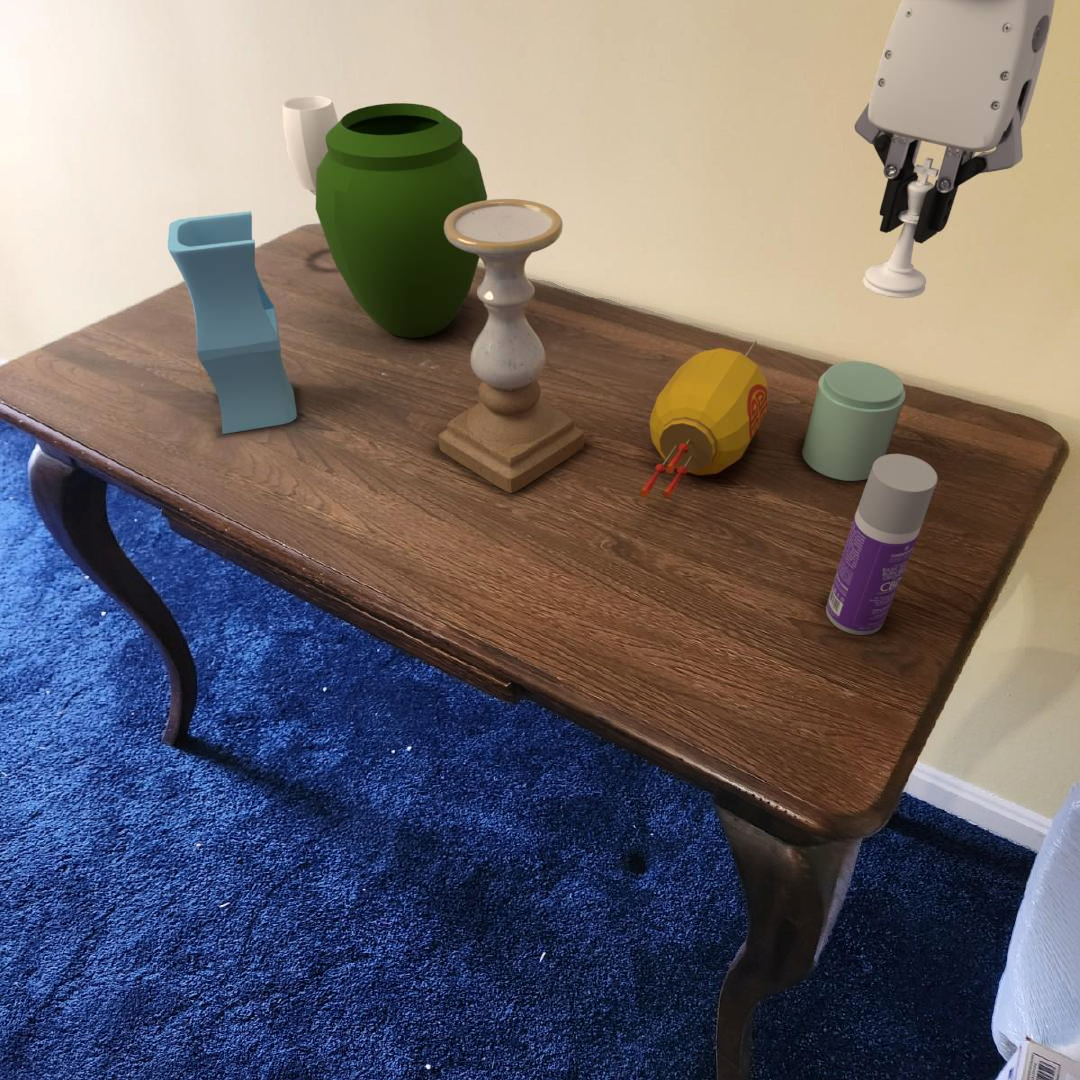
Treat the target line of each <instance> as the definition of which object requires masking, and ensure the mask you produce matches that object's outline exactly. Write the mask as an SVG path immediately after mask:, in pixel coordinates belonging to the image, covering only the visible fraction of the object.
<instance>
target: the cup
mask: <svg viewBox="0 0 1080 1080" xmlns="http://www.w3.org/2000/svg"><path fill="white" fill-rule="evenodd" d="M282 122H283V123H282V124H283V133H284V139H285V146H286V151H287V154H288V157H289V162H290V164H291V166H292V169H293V171H294V173H295V175H296V177H297V179H298V181H299V183H300V185H301V187H302V188H303V189H306V190H307V191H309V192H310V193H311V194H312V195H313V196H316V174H317V168H318V166H319V165H320V163H321V161H322V160H323V158H324V157H325V155H326V153H327V152H328V149H327V144H326V135H327V133H328V132H329V131H330V130H331V129H332V128H333V127H334V126H335V125H336V124H337V123H338V122H339V118H338V115H337V113H336V109H335V106H334V102H333V100H332V99H330V98H329V97H326V96H320V95H304V96H296V97H293V98H290V99H288V100H285V101H284V102H283V103H282Z"/></svg>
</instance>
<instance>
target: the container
mask: <svg viewBox="0 0 1080 1080" xmlns="http://www.w3.org/2000/svg"><path fill="white" fill-rule="evenodd" d="M866 480H867V481H866V483H865V486H864V488H863V491H862V494H861V497H860V500H859V503H858V506H857V509H856V511H855V514H854V518H853V520H852V523H851V527H850V529H849V534H848V536H847V539H846V542H845V546H844V549H843V552H842V555H841V557H840V558H841V559H840V561H839V565H838V568H837V571H836V574H835V577H834V580H833V583H832V587H831V589H830V593H829V596H828V599H827V602H826V606H825V612H826V616H827V618H828V620H829V622H831V623H832V624H833V626H835V627H836V628H837V629H839V630H840V631H843V632H845V633H848V634H851V635H854V636H855V635H857V636H868V635H872V634H875V633H876V632H878V631H879V630H880V629H881V628H882V627H883V625H884V622H885V621H886V618H887V615H888V613H889V610H890V608H891V605H892V603H893V600H894V598H895V595H896V593H897V590H898V588H899V585H900V582H901V580H902V577H903V575H904V573H905V570H906V567H907V565H908V562H909V560H910V557H911V555H912V552H913V550H914V547H915V544H916V542H917V539H918V536H919V535H920V531H921V528H922V525H923V523H924V519H925V517H926V514H927V511H928V508H929V505H930V503H931V500H932V497H933V494H934V491H935V488H936V485H937V482H938V474H937V471H935V469H934V468H933V467H932V466H931V465H930V464H929V463H928V462H926V461H924V460H923V459H920V458H918V457H916V456H913V455H909V454H902V453H890V454H888V453H887V454H886V455H884V456H881V457H879V458H878V459H877V460H876V461H875V462H874V464H873V466H872V469H871V472H870V475H869V478H868V479H866Z"/></svg>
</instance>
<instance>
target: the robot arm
mask: <svg viewBox="0 0 1080 1080" xmlns="http://www.w3.org/2000/svg"><path fill="white" fill-rule="evenodd" d="M1055 3H1056V0H900V3H899V6H898V8H897V10H896V13H895V14H894V15H895V16H894V18H893V21H892V24H891V26H890V28H889V29H890V30H889V32H888V34H887V38H886V41H885V44H884V46H883V50H882V54H881V57H880V59H879V63H878V66H877V70H876V73H875V76H874V80H873V85H872V89H871V92H870V97H869V101H868V103H867V104H866V106H865V108H864V109H863V110H862V112H861V114H860V116H859V117H858V118H857V120H856V122H855V123H854V131H855V132H856V133H857V134H858V135H859V136H860V137H861V138H862V139H864V140H865V141H866V142H867V143H869V144H870V145H873V147H874V150H875V152H876V153H877V156H878V157H879V159H880V161H881V163H882V165H883V175H884V177H885V178H886V179H887V181H886V186H885V188H884V189H885V190H884V193H883V198H882V201H881V205H880V209H879V216H881V217H882V218H881V223H880V226H879V232H881V233H884V234H887V233H891V232H892V231H894V230H896V229H897V228H898V227H901V226H903V225H904V223H905V222H903V221H901V220H900V219H899V218H898V216H899V214H900V212H902V211H905V210H907V209H908V193H907V186H908V184H909V183H910V182H913V181H918V180H919V175H918V173H916V172H914V168H915V166H916V165H915V164H916V162H917V158H918V154H919V151H920V148H921V145H922V142H926V143H930V144H935V145H939V146H942V147H945V151H944V155H943V158H942V162H941V166H940V169H939V172H938V175H937V179H936V180H935V182H934V184H933V185H934V187H933V188H931V189H930V190H928V191H927V193H926V195H925V199H924V202H923V205H922V209H921V212H920V216H919V219H918V223H917V226H916V230H915V233H914V237H913V239H914V243H918V244H924V243H925V242H926V241H928V240H930V239H931V238H933V237H934V236H935V235H937V234H938V233H940V232H942V231H943V230H944V229H945V227H946V226H947V223H948V221H949V218H950V215H951V211H952V208H953V205H954V202H955V199H956V196H957V192H958V189H959V186H961V185H963V184H964V183H966V182H968V181H969V180H971V179H972V178H974V177H977V176H978V175H980V174H984V173H985V174H986V173H991V172H997V171H998V172H999V171H1002V170H1003V171H1004V170H1008V169H1012V168H1013V167H1014V166H1016V165H1018V164H1020V163H1021V162H1022V159H1023V155H1024V153H1023V140H1022V127H1023V126H1024V124H1025V121H1026V118H1027V115H1028V112H1029V110H1030V106H1031V103H1032V100H1033V96H1034V93H1035V89H1036V86H1037V82H1038V78H1039V75H1040V71H1041V67H1042V63H1043V59H1044V55H1045V50H1046V47H1047V43H1048V37H1049V33H1050V30H1051V25H1052V20H1053V19H1052V18H1053V14H1054V8H1055V7H1054V6H1055ZM994 149H995V150H994ZM976 153H978V154H977V155H976Z"/></svg>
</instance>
